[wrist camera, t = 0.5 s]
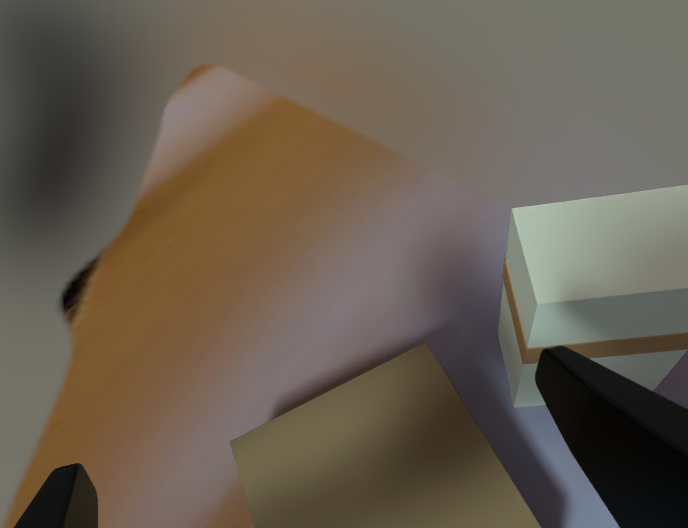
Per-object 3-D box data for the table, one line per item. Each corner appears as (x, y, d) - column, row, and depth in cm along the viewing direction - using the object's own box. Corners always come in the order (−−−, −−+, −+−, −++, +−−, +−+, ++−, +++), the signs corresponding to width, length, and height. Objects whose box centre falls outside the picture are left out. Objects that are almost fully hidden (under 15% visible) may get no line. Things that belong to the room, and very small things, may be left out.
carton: (650, 397, 23) (746, 283, 15) (512, 408, 24) (536, 305, 16) (621, 319, 26) (691, 182, 18) (496, 331, 27) (510, 207, 19)
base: (554, 573, 20) (566, 568, 18) (329, 701, 20) (309, 713, 17) (429, 367, 26) (426, 341, 24) (252, 458, 25) (229, 441, 23)
